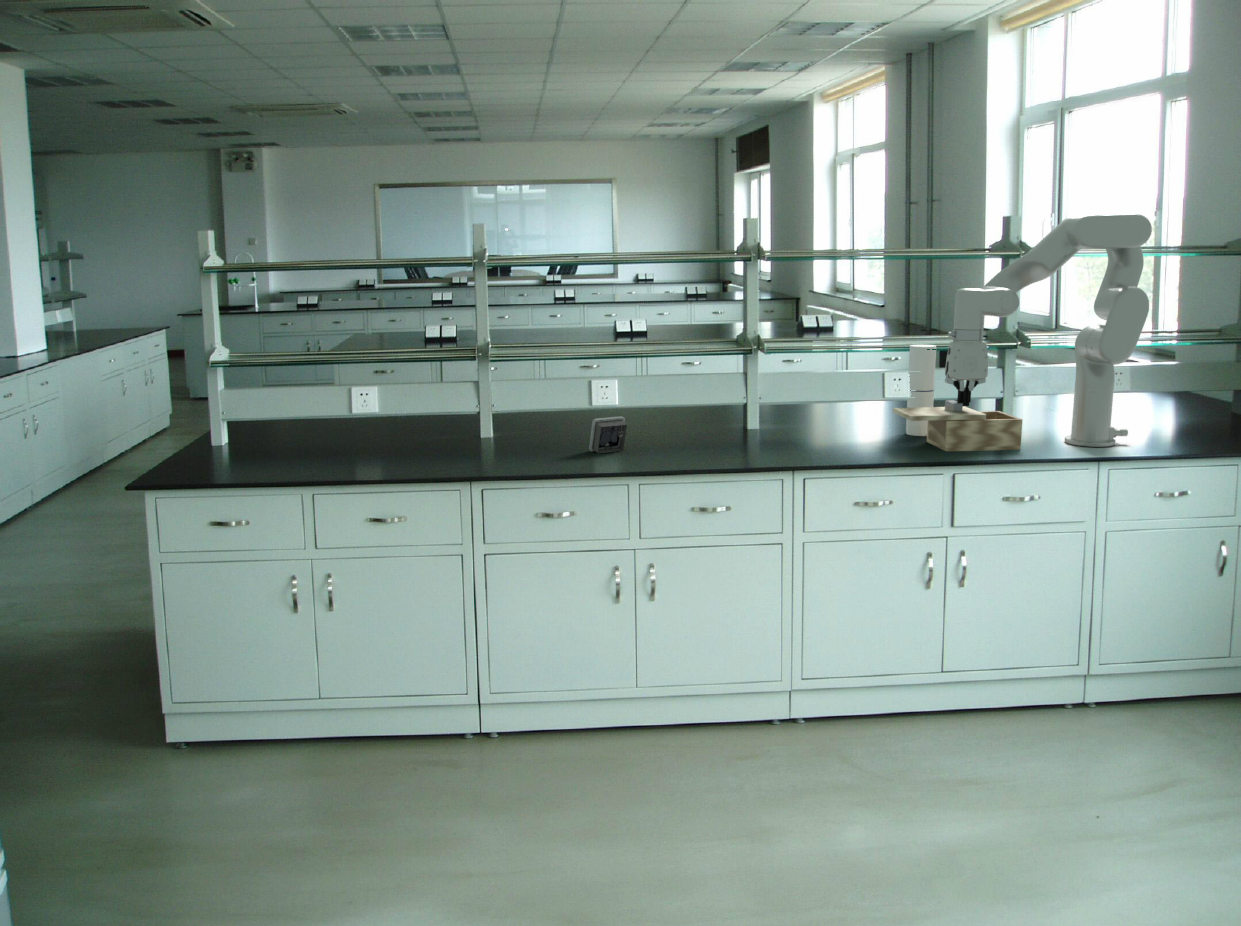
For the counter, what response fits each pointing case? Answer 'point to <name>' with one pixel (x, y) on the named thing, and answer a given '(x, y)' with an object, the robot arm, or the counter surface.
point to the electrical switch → (608, 434)
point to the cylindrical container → (921, 384)
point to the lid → (940, 412)
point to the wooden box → (977, 433)
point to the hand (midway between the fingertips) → (963, 405)
